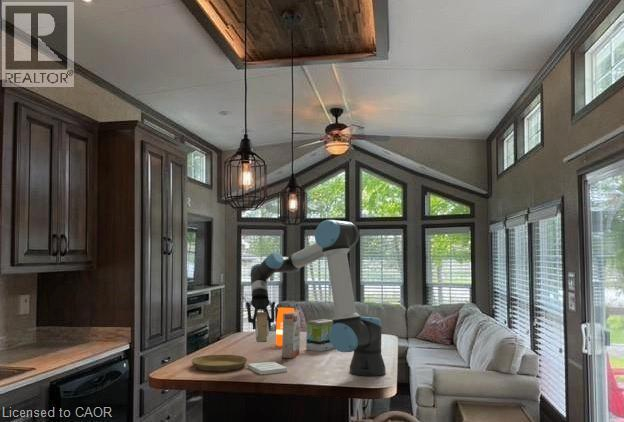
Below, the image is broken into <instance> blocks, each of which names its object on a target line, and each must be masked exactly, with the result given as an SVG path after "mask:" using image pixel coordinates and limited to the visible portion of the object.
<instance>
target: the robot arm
mask: <svg viewBox="0 0 624 422" xmlns="http://www.w3.org/2000/svg"><path fill="white" fill-rule="evenodd" d="M359 238H360V232H359V230H358V227H357V225H355V224H354V223H352V222H351V221H346V220H345V221H344V220H339V219H338V220H336V219H326V220H323V221H321V222H320V223H319V224H318V225H317V227H316V228H315V232H314V240H315V243H313V244H311V245H308V246H307V247H304V248H303V249H301V250H299V251H296V252H295V253H292V254H290V255H287V256H282V254H280V253H279V252H278V251H277V252H278V253H277V252H275V251H273V252H271V253H270V254H269V255H268V256H266V258H264V260H263V261H262V262H261V263H256V264H254V265H252V267H251V268H250V273H249V275H250V287H251V291H250V292H251V301H246V302H245V308H246V310H247V323H249V324H252V330H255V338H256V337H258V326H257V312H259V311H262V312H266V313H267V338H269V337H270V330H271V328H272V324H273V323H275V316H276V315H275V307H276V306H275V305H276V301H272V302H271V300H270V299H269V289H268V280H269V278H271V276H273V274H275V273H279V274H280V273H297V272H299V271H300V270H301V268H302V267H305V266H307V265H309V264H311V263H314V262H317V261H318V260H321V259H323V258H324V257H326V261H327V262H326V263H327V267H328V268H327V269H328V274H329V280H330V288H331V295H332V302H333V307H334V316H333V317H332V319H331V320H332V321H333V326H332V327H331V330H330V331H329V339H330V342H331V344H332V346H333V347H334V348H333V349H335V350H336V351H338V352H339V353H352V352H353V353H352V358H351V360H350V364H349V373H350V374H353V375H357V376H363V377H378V376H384V375H385V374H387V373H386V371H387V370H386V365H385V361H384V358H383V355H382V329H383V327H382V320H381V319H380V318H379V317H369V316H362V315H360V313H358V312H357V310H356V304H355V298H354V290H353V284H352V283H353V282H352V278H351V272H350V271H351V270H350V265H349V259H348V253H349V252H350V250H351V248H353V247H354V246H355V245H356V244H357V243H358V241H359ZM268 306H269V307H270V313H269V311H268ZM252 307H253V308H254V313H253V316H252V312H251V311H252V310H251V308H252Z"/></svg>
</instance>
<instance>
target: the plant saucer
mask: <svg viewBox="0 0 624 422" xmlns="http://www.w3.org/2000/svg"><path fill="white" fill-rule="evenodd" d="M247 362H248V357H245V356H241V355H237V354H236V355H235V354H209V355H201V356H197V357H194V358H192V359H191V363H192V365H193V367H195V368H197V370H200V371H205V372H229V371H231V372H232V371H234V370H238V369H240V368H242V367H244V365H246V363H247Z"/></svg>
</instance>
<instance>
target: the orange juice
mask: <svg viewBox="0 0 624 422" xmlns="http://www.w3.org/2000/svg"><path fill="white" fill-rule="evenodd" d="M289 311H295V308H294V307H278V310H277V316H276V331H275V333H276V335H275V338H276V339H275V340H276V341H275V345H276V346H279V347H282V339H283V314H285V313H287V312H289Z"/></svg>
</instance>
